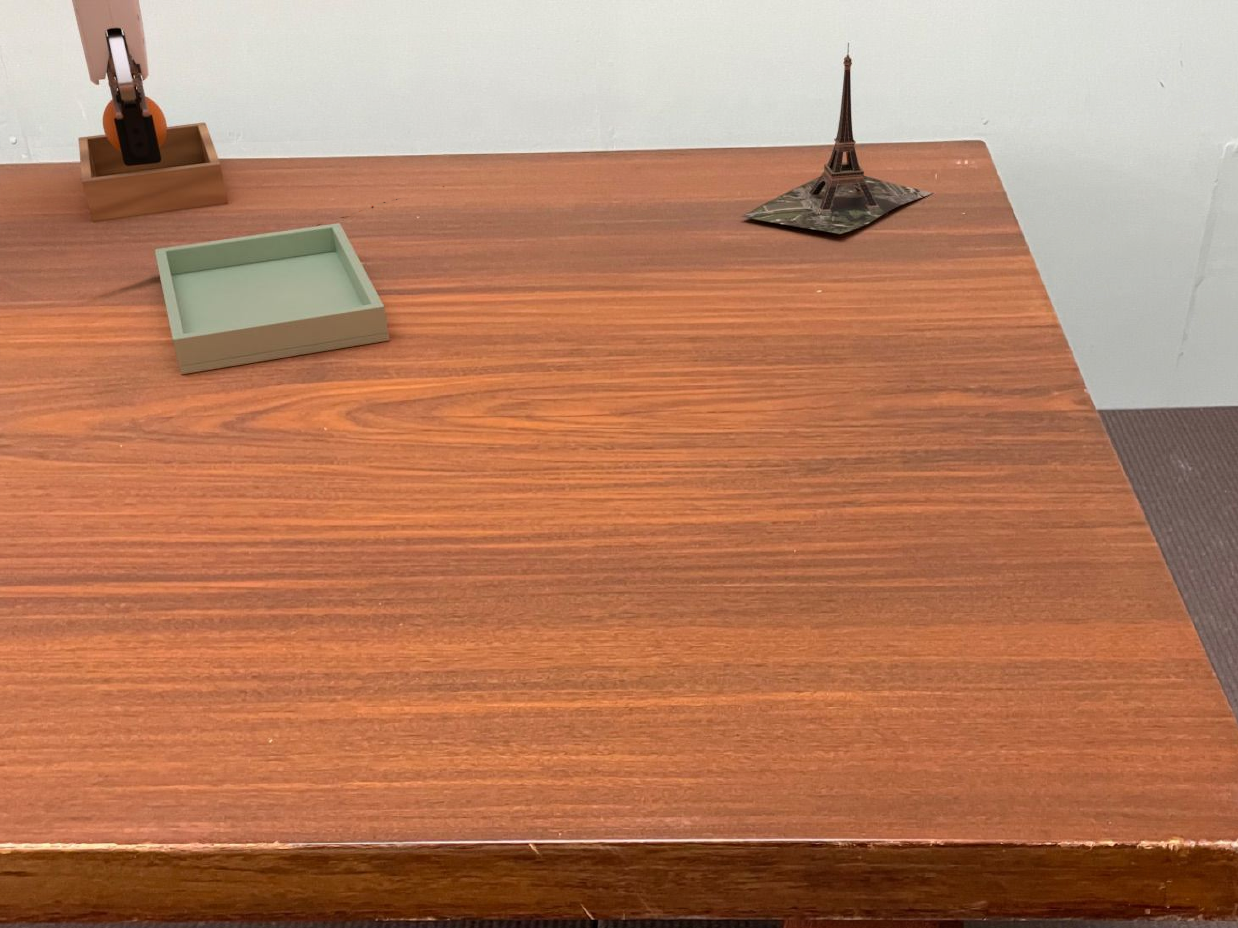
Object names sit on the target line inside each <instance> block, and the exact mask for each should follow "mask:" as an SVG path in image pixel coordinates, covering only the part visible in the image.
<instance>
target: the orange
mask: <svg viewBox="0 0 1238 928" xmlns="http://www.w3.org/2000/svg"><path fill="white" fill-rule="evenodd" d="M145 98H146V102H147V107H148V112H149V115H151V114H152V117H153V121H154V126H155V131H156V136H157V140H158V145H159V148H160V147H161V146H162V144H163V143H164V141H165V138H166V134H167V127H168V125H167V120H166V117H165V114H164V112H163V110H162V109H161V107H160V106H159V105H158V103H156V102H155V101H154V100H153V99H152V98H150V97H148V96H147V95H145ZM140 105H141V103H140ZM120 107H121V105H120ZM141 109H142V108H141ZM121 111H122V110H121ZM142 115H143V112H142ZM122 116H123V114H122ZM114 118H117V117H116V113H115V108H114V104H113V99H111V100H110V101H109V102H108V103H107V105H106V106H105V108H104V111H103V114H102V128H103V131H104V135H106V137H107V139H108V140H109V142H110V143H111V144H112V145H113V146H114V147H115V148H116V149H117V150H118V151H120V152H121V148H120V144H119V139H118V135H117V130H116V126H115V121H114Z"/></svg>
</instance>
